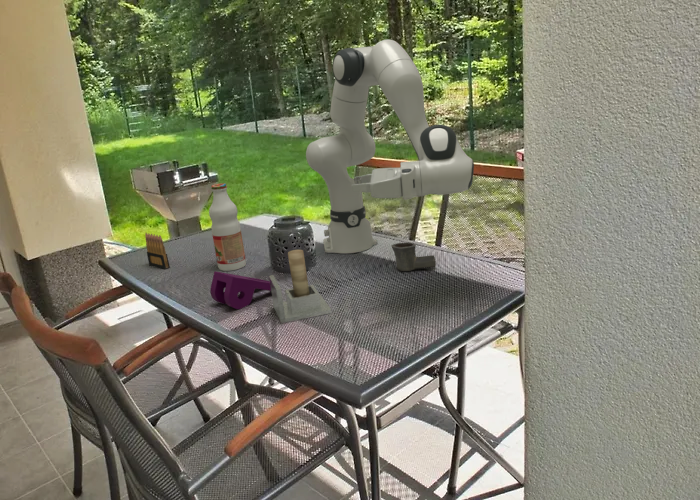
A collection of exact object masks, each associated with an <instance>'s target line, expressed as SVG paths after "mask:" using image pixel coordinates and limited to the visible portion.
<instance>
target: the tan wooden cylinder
mask: <svg viewBox="0 0 700 500" xmlns="http://www.w3.org/2000/svg"><path fill="white" fill-rule="evenodd" d="M304 254H305V253H304V250H303V249H293V250H289V251H288V252H287V257H288V262H289V263H288V265H289V269H290V277H291V283H292V289H293V290H294V297H300V296H305V295H310V293H309V287H308V286H309V282H308V280H309V279H308V273H307V268H306V261H305V260H306V259H305V255H304Z"/></svg>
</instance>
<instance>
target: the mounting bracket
mask: <svg viewBox="0 0 700 500" xmlns="http://www.w3.org/2000/svg"><path fill="white" fill-rule="evenodd" d="M256 289H257V290H265V291H270V292H271V286H270V280H265V279H260V278H256V277H251V276H245V275H239V274H235V273H234V274H233V273H227V272H220V271H215V270H214V271H213V276H212V280H211V285H210V288H209V290H210V297H211V298H212V300H214V301H215V302H217V303H219V304H222V305H227V306H229V307H230V308H232V309H236V310H241V309H244V308H246V307H248V306H249V305H250V304H251V303H252V300H253V298H254V294H255V290H256ZM247 305H248V306H247ZM245 306H246V307H245ZM243 307H244V308H243Z"/></svg>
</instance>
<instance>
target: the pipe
mask: <svg viewBox="0 0 700 500" xmlns="http://www.w3.org/2000/svg"><path fill="white" fill-rule="evenodd" d="M416 246H417V245H416V243H413V242H398V243H393V244H391V246H390V247H391V249H392V251H393V253H394V257H395V261H396V268H397V269H398V271H400V272H410V271H413V270H422V269H423V270H425V269H426V270H427V269H433V268H436V266H437V265H436V264H437V263H436V257H435V255H424V256H422V255H421V256H416Z"/></svg>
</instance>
